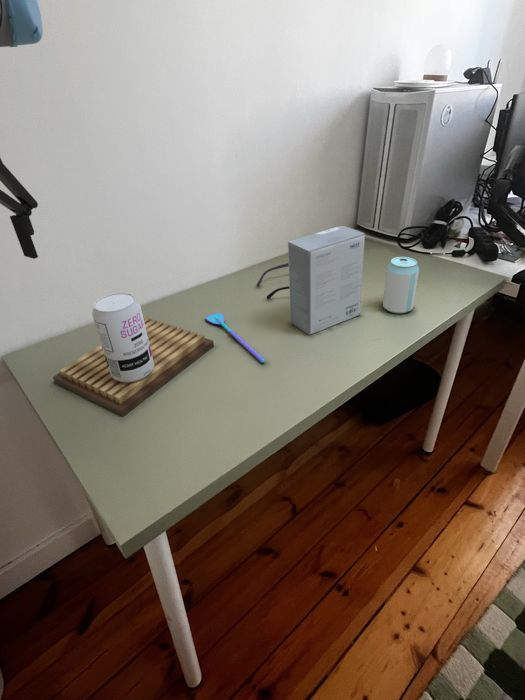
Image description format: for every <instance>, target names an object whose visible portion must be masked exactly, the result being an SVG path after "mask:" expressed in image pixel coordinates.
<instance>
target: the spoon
mask: <svg viewBox="0 0 525 700" xmlns="http://www.w3.org/2000/svg"><path fill="white" fill-rule="evenodd" d="M205 320H206V321H207V322H209V323H211V324H213V325H220V326H221V327H222V328H223V329H224V330H226V331H227V332H228V333H229V335H230V336H232V337H233V338H234V339H235V340H236V341H237V342H238V343H239V344H241V346H243V347H244V348H245V349H246V350H247V351H248V352H249V353H250V354H252V356H253V357H255V358H256V360H257V361H259V363H261V364H264V363H266V359H265V358H264V357H263V356H261V354H259V353H258V351H256V350H255V349H254V348H253V347H252V346H251V345H250V344H248V343H247V342H246V341H245V340H244V339H243V338H242V337H241V336H240V335H238V334H237V333H236V332H235V331H234V330H232V329H231V328H230V327H229V326H228V325H227V324H226V323H225V321H226V320H225V316H224V315H223V314H222V313H221V312H217V313H216V312H215V313H213V314H210V315H207V316H205Z"/></svg>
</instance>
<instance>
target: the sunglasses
mask: <svg viewBox="0 0 525 700" xmlns="http://www.w3.org/2000/svg"><path fill="white" fill-rule="evenodd" d="M283 268H289V263H288V262H287V263H283V264H279V265H276V266H273V267H270V268H269V269H267V270H265V271H264V272H263V273H262V274H261V276H260V278H259V279H258V281H257V283H256V286H258V287H260V285H261V283H262V281H263V279H264V277H265V275H267V273H269V272H273V271H275V270H278V269H283ZM283 290H289V285H288V286H283V287H278V288H276V289H274V290H273V291H272V292H270V293H269V294H267V296H266V299H267V300H270V299H271V298H272V297H273V296H274V295H275V294H276V293H278V292H279V291H283Z"/></svg>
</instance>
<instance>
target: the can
mask: <svg viewBox="0 0 525 700" xmlns="http://www.w3.org/2000/svg"><path fill="white" fill-rule="evenodd" d="M419 273H420V268H419V266H418V261H417V260H416V259H415V258H414V257H413V258H412V257H408V256H396V257H393V258H392V259H390V262H389V264H388V265H387V266H386V274H385V281H384V282H385V283H384V289H383V300H382V306H383V308H384V309H385V310H386V311H388V312H390V313H393V314H405V313H408V312H410V311H412V310H413V309H414V304H415V298H416V291H417V285H418V279H419Z"/></svg>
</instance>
